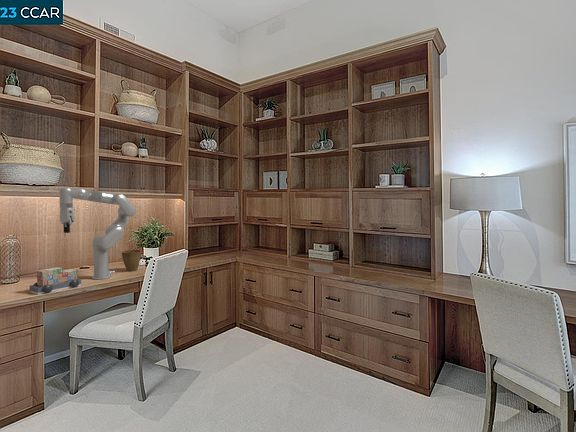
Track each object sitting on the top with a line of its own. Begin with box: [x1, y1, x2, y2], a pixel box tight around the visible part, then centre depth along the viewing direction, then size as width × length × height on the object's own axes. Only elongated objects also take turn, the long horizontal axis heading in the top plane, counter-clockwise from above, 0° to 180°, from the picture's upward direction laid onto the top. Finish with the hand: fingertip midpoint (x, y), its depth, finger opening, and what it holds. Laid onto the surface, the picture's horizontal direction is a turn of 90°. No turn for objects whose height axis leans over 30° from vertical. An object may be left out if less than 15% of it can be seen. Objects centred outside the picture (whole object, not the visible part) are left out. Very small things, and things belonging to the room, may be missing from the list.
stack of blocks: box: [36, 267, 78, 287], centre depth 222 cm, size 21×6×12 cm, turn 153°
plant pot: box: [121, 249, 142, 272], centre depth 278 cm, size 15×15×16 cm
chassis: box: [29, 278, 82, 295], centre depth 220 cm, size 26×13×5 cm, turn 150°
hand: (66, 232), depth 233 cm, fingers closed
